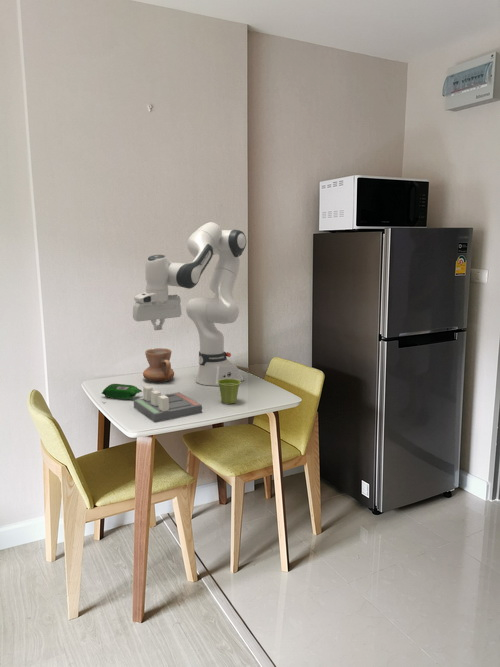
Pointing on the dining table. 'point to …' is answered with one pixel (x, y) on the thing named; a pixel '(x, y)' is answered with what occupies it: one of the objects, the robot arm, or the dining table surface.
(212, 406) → the dining table surface
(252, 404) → the dining table surface
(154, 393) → the block
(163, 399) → the block
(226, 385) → the plant pot
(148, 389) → the inner breaker
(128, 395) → the snack package
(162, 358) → the ceramic jug
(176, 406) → the panel
